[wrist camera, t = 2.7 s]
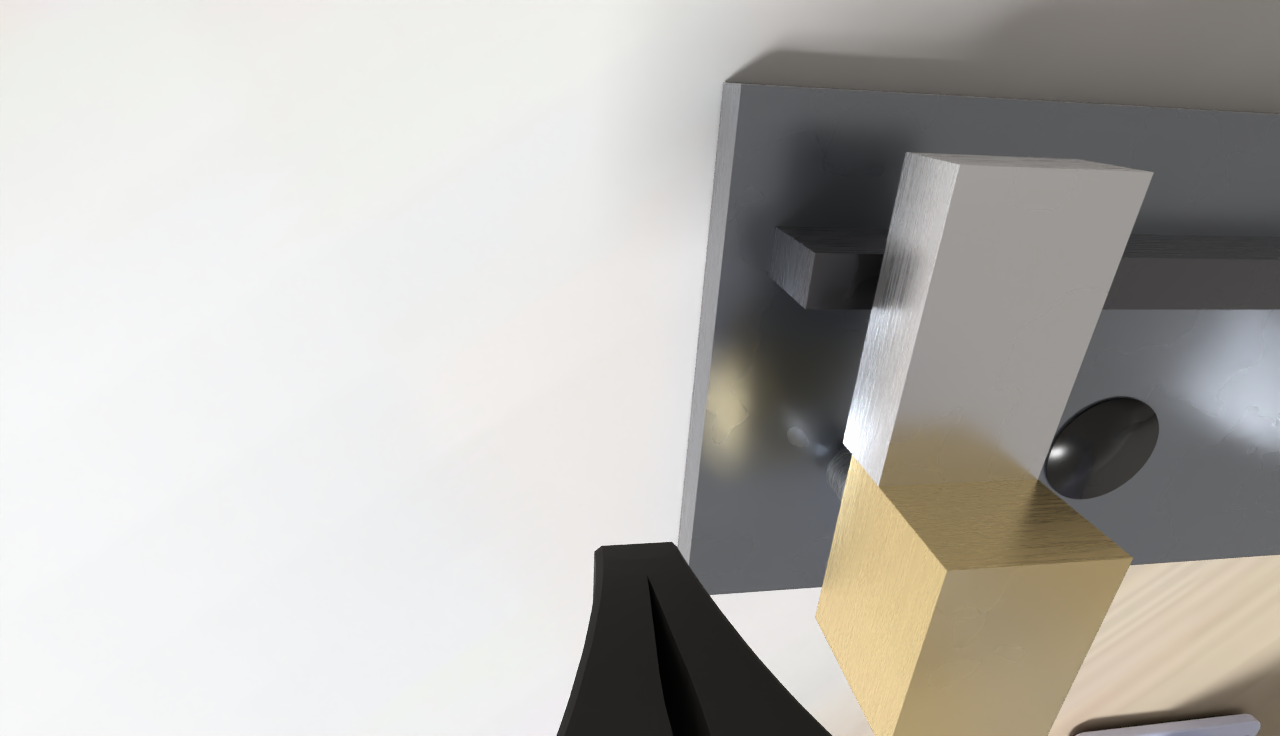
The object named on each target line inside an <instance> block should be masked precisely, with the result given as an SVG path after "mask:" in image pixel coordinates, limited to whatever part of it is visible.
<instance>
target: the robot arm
mask: <svg viewBox="0 0 1280 736" xmlns="http://www.w3.org/2000/svg"><path fill="white" fill-rule="evenodd" d="M1260 727H1261V725H1260V722H1259V721H1258V720H1257V719H1255V718H1254V717H1253V716H1252V715H1251V714H1237V715H1229V716H1220V717H1211V718H1203V719H1194V720H1186V721H1177V722H1168V723H1160V724H1151V725H1142V726H1134V727H1125V728H1116V729H1108V730H1099V731H1090V732H1083V733H1079V734H1077V735H1075V736H1256V734H1257V733H1258V731H1259V730H1260ZM557 736H832V735H831V734H830V733H829V732H828V731H827V730H826V729H825V728H824V727H823V726H822V725H821V724H820V723H819V722H818V721H817V720H816V719H815V718H814V717H813V716H812V715H811V714H810V713H809V712H808V711H807V710H806V709H805V708H804V707H803V706H802V705H801V704H800V703H799V702H798V701H797V700H796V699H795V698H794V697H793V696H792V695H791V694H790V693H789V691H788V690H787V689H786V688H785V687H784V686H783V685H782V684H781V683H780V682H779V681H778V679H777V678H776V677H775V676H774V675H773V674H772V673H771V671H770V670H769V669H768V668H767V667H766V666H765V665H764V664H763V662H762V661H761V660H760V659H759V658H758V657H757V655H756V654H755V653H754V652H753V651H752V649H751V648H750V647H749V646H748V645H747V643H746V642H745V641H744V640H743V638H742V637H741V636H740V635H739V633H738V632H737V631H736V630H735V628H734V627H733V626H732V624H731V623H730V622H729V621H728V619H727V618H726V617H725V616H724V614H723V613H722V612H721V610H720V609H719V608H718V606H717V605H716V604H715V602H714V601H713V600H712V598H711V597H710V595H709V594H708V592H707V591H706V590H705V588H704V587H703V585H702V584H701V583H700V581H699V580H698V578H697V577H696V575H695V574H694V572H693V571H692V569H691V568H690V566H689V565H688V563H687V562H686V560H685V559H684V557H683V556H682V554H681V552H680V551H679V549H678V547H677V546H676V545H674V544H673V543H672V542H663V543H645V544H628V545H610V546H601V547H600V548H598V549H597V550H596V551H595V553H594V589H593V606H592V612H591V616H590V621H589V626H588V631H587V635H586V640H585V645H584V649H583V653H582V657H581V660H580V663H579V667H578V670H577V674H576V677H575V681H574V684H573V688H572V691H571V695H570V698H569V701H568V704H567V707H566V710H565V713H564V716H563V719H562V722H561V725H560V728H559V731H558V733H557Z"/></svg>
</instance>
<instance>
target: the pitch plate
mask: <svg viewBox="0 0 1280 736" xmlns="http://www.w3.org/2000/svg"><path fill="white" fill-rule="evenodd" d="M906 152H915V153H939V154H963V155H987V156H1012V157H1036V158H1060V159H1080V160H1086V161H1091V162H1097V163H1103V164H1109V165H1115V166H1120V167H1126V168H1132V169H1138V170H1143V171H1149V172H1154V173H1153V176H1152V178H1151V181H1150V184H1149V186H1148V189H1147V192H1146V194H1145V197H1144V200H1143V202H1142V205H1141V207H1140V210H1139V213H1138V215H1137V218H1136V221H1135V223H1134V226H1133V229H1132V231H1131V234H1130V237H1129V239H1128V242H1127V245H1126V247H1125V250H1124V253H1123V255H1122V258H1121V260H1120V263H1119V266H1118V268H1117V271H1116V274H1115V276H1114V279H1113V282H1112V284H1111V287H1110V290H1109V292H1108V295H1107V298H1106V300H1105V303H1104V305H1103V308H1102V311H1101V313H1100V316H1099V319H1098V321H1097V324H1096V327H1095V329H1094V332H1093V335H1092V337H1091V340H1090V343H1089V345H1088V348H1087V350H1086V353H1085V356H1084V358H1083V361H1082V364H1081V366H1080V369H1079V372H1078V374H1077V377H1076V380H1075V382H1074V385H1073V388H1072V390H1071V393H1070V395H1069V398H1068V401H1067V403H1066V406H1065V409H1064V411H1063V414H1062V417H1061V419H1060V422H1059V425H1058V427H1057V430H1056V433H1055V435H1054V438H1053V440H1052V443H1051V446H1050V448H1049V451H1048V454H1047V456H1046V459H1045V462H1044V464H1043V467H1042V470H1041V472H1040V475H1039V478H1038V480H1039V481H1040V482H1042V483H1043V484H1044V485H1045V486H1046V487H1048V488H1049V489H1050V490H1051V491H1053V492H1054V493H1055V494H1056V495H1057V496H1059V497H1060V498H1061V499H1062V500H1063V501H1065V502H1066V503H1067V504H1068V505H1069V506H1071V507H1072V508H1073V509H1074V510H1076V511H1077V512H1078V513H1079V514H1080V515H1082V516H1083V517H1084V518H1085V519H1086V520H1088V521H1089V522H1090V523H1091V524H1093V525H1094V526H1095V527H1096V528H1097V529H1099V530H1100V531H1101V532H1102V533H1103V534H1105V535H1106V536H1107V537H1108V538H1110V539H1111V540H1112V541H1113V542H1114V543H1116V544H1117V545H1118V546H1119V547H1120V548H1122V549H1123V550H1124V551H1125V552H1126V553H1128V554H1129V555H1130V556H1131V557H1133V560H1132V562H1131V564H1130V565H1140V564H1154V563H1168V562H1182V561H1196V560H1210V559H1224V558H1238V557H1253V556H1267V555H1280V114H1271V113H1253V112H1236V111H1218V110H1201V109H1183V108H1166V107H1148V106H1130V105H1113V104H1095V103H1078V102H1060V101H1042V100H1025V99H1007V98H990V97H972V96H954V95H937V94H919V93H902V92H884V91H866V90H849V89H831V88H814V87H796V86H779V85H761V84H743V83H726V82H724V83H723V93H722V104H721V114H720V124H719V134H718V144H717V154H716V164H715V175H714V185H713V195H712V205H711V215H710V225H709V235H708V246H707V256H706V266H705V276H704V286H703V296H702V307H701V317H700V327H699V337H698V347H697V357H696V367H695V378H694V388H693V398H692V408H691V418H690V428H689V438H688V449H687V459H686V469H685V479H684V489H683V499H682V509H681V520H680V530H679V540H678V549H679V551H680V552H681V554H682V556H683V557H684V559H685V560H686V562H687V563H688V565H689V566H690V568H691V569H692V571H693V572H694V574H695V575H696V577H697V578H698V580H699V581H700V583H701V584H702V585H703V587H704V588H705V590H706V591H707V592H708V594H709V595H716V594H730V593H744V592H758V591H772V590H786V589H800V588H814V587H822V585H823V581H824V576H825V572H826V568H827V563H828V559H829V554H830V550H831V545H832V541H833V537H834V532H835V528H836V523H837V519H838V515H839V510H840V506H841V500H840V499H839V497H838V496H837V495H836V493H835V492H834V490H833V489H832V487H831V486H830V485H829V483H828V481H827V479H826V468H827V465H828V463H829V462H830V460H831V459H832V458H833V457H834V456H835V455H836V454H837V453H839V452H840V451H842V450H844V449H847V447H846V446H845V445H844V444H843V439H844V434H845V430H846V425H847V421H848V416H849V411H850V407H851V402H852V398H853V393H854V388H855V384H856V379H857V375H858V370H859V365H860V361H861V356H862V352H863V347H864V342H865V338H866V333H867V329H868V324H869V319H870V315H871V310H872V306H873V301H874V296H875V292H876V287H877V283H878V278H879V273H880V269H881V264H882V260H883V255H884V250H885V246H886V241H887V237H888V232H889V227H890V223H891V218H892V214H893V209H894V204H895V200H896V195H897V190H898V186H899V181H900V177H901V172H902V167H903V163H904V158H905V154H906Z"/></svg>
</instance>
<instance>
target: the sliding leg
mask: <svg viewBox="0 0 1280 736" xmlns="http://www.w3.org/2000/svg"><path fill="white" fill-rule="evenodd" d="M1153 173H1154V172H1149V171H1143V170H1138V169H1132V168H1126V167H1120V166H1115V165H1109V164H1103V163H1097V162H1091V161H1086V160H1080V159H1060V158H1036V157H1012V156H987V155H963V154H939V153H915V152H906V154H905V158H904V163H903V167H902V172H901V177H900V181H899V186H898V190H897V195H896V200H895V204H894V209H893V214H892V218H891V223H890V227H889V232H888V237H887V241H886V246H885V250H884V255H883V260H882V264H881V269H880V273H879V278H878V283H877V287H876V292H875V296H874V301H873V306H872V310H871V315H870V319H869V324H868V329H867V333H866V338H865V342H864V347H863V352H862V356H861V361H860V365H859V370H858V375H857V379H856V384H855V388H854V393H853V398H852V402H851V407H850V411H849V416H848V421H847V425H846V430H845V434H844V439H843V444H844V445H845V446H846V447H847V449H844V450H842V451H840V452H839V453H837V454H836V455H835V456H834V457H833V458H832V459H831V460H830V462H829V463H828V465H827V468H826V479H827V481H828V483H829V485H830V486H831V487H832V489H833V490H834V492H835V493H836V495H837V496H838V497H839V499H840V500H841V506H840V510H839V515H838V519H837V523H836V528H835V532H834V537H833V541H832V545H831V550H830V554H829V559H828V563H827V568H826V572H825V576H824V581H823V585H822V590H821V594H820V598H819V603H818V607H817V612H816V616H815V618H816V620H817V622H818V624H819V626H820V628H821V630H822V632H823V634H824V636H825V638H826V640H827V642H828V644H829V646H830V648H831V650H832V652H833V654H834V656H835V657H836V659H837V661H838V663H839V665H840V667H841V669H842V671H843V673H844V675H845V677H846V679H847V681H848V683H849V685H850V687H851V689H852V691H853V693H854V695H855V697H856V699H857V701H858V703H859V705H860V707H861V709H862V711H863V713H864V715H865V717H866V719H867V721H868V723H869V725H870V727H871V729H872V731H873V733H874V735H875V736H1048V734H1049V731H1050V729H1051V727H1052V725H1053V723H1054V721H1055V719H1056V717H1057V715H1058V713H1059V711H1060V709H1061V707H1062V705H1063V702H1064V700H1065V698H1066V696H1067V694H1068V692H1069V690H1070V688H1071V686H1072V684H1073V682H1074V680H1075V678H1076V676H1077V673H1078V671H1079V669H1080V667H1081V665H1082V663H1083V661H1084V659H1085V657H1086V655H1087V653H1088V651H1089V649H1090V647H1091V644H1092V642H1093V640H1094V638H1095V636H1096V634H1097V632H1098V630H1099V628H1100V626H1101V624H1102V622H1103V620H1104V618H1105V616H1106V613H1107V611H1108V609H1109V607H1110V605H1111V603H1112V601H1113V599H1114V597H1115V595H1116V593H1117V591H1118V589H1119V587H1120V584H1121V582H1122V580H1123V578H1124V576H1125V574H1126V572H1127V570H1128V568H1129V566H1130V564H1131V562H1132V560H1133V557H1131V556H1130V555H1129V554H1128V553H1126V552H1125V551H1124V550H1123V549H1122V548H1120V547H1119V546H1118V545H1117V544H1116V543H1114V542H1113V541H1112V540H1111V539H1110V538H1108V537H1107V536H1106V535H1105V534H1103V533H1102V532H1101V531H1100V530H1099V529H1097V528H1096V527H1095V526H1094V525H1093V524H1091V523H1090V522H1089V521H1088V520H1086V519H1085V518H1084V517H1083V516H1082V515H1080V514H1079V513H1078V512H1077V511H1076V510H1074V509H1073V508H1072V507H1071V506H1069V505H1068V504H1067V503H1066V502H1065V501H1063V500H1062V499H1061V498H1060V497H1059V496H1057V495H1056V494H1055V493H1054V492H1053V491H1051V490H1050V489H1049V488H1048V487H1046V486H1045V485H1044V484H1043V483H1042V482H1040V481H1039V480H1038V478H1039V475H1040V472H1041V470H1042V467H1043V464H1044V462H1045V459H1046V456H1047V454H1048V451H1049V448H1050V446H1051V443H1052V440H1053V438H1054V435H1055V433H1056V430H1057V427H1058V425H1059V422H1060V419H1061V417H1062V414H1063V411H1064V409H1065V406H1066V403H1067V401H1068V398H1069V395H1070V393H1071V390H1072V388H1073V385H1074V382H1075V380H1076V377H1077V374H1078V372H1079V369H1080V366H1081V364H1082V361H1083V358H1084V356H1085V353H1086V350H1087V348H1088V345H1089V343H1090V340H1091V337H1092V335H1093V332H1094V329H1095V327H1096V324H1097V321H1098V319H1099V316H1100V313H1101V311H1102V308H1103V305H1104V303H1105V300H1106V298H1107V295H1108V292H1109V290H1110V287H1111V284H1112V282H1113V279H1114V276H1115V274H1116V271H1117V268H1118V266H1119V263H1120V260H1121V258H1122V255H1123V253H1124V250H1125V247H1126V245H1127V242H1128V239H1129V237H1130V234H1131V231H1132V229H1133V226H1134V223H1135V221H1136V218H1137V215H1138V213H1139V210H1140V207H1141V205H1142V202H1143V200H1144V197H1145V194H1146V192H1147V189H1148V186H1149V184H1150V181H1151V178H1152V176H1153Z"/></svg>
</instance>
